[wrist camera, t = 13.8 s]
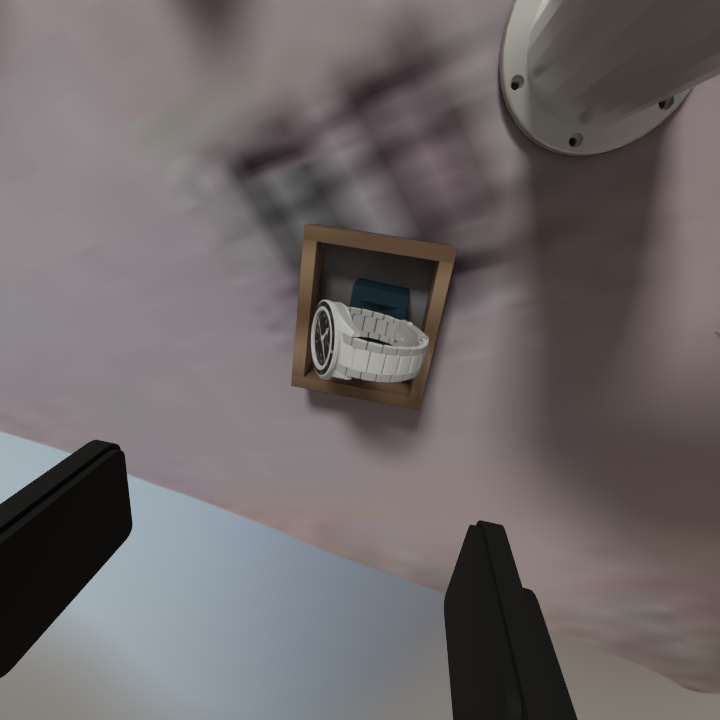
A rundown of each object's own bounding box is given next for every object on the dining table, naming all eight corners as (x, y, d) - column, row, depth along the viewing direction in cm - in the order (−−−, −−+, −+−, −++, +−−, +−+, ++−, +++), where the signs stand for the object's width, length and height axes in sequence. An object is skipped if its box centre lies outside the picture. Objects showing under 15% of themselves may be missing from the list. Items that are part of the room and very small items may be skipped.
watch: (335, 272, 31) (299, 299, 20) (430, 293, 30) (441, 331, 20) (325, 335, 33) (287, 388, 23) (414, 355, 32) (416, 418, 22)
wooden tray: (317, 224, 30) (304, 224, 27) (451, 245, 30) (456, 249, 26) (303, 368, 35) (291, 385, 31) (418, 389, 34) (419, 409, 31)
